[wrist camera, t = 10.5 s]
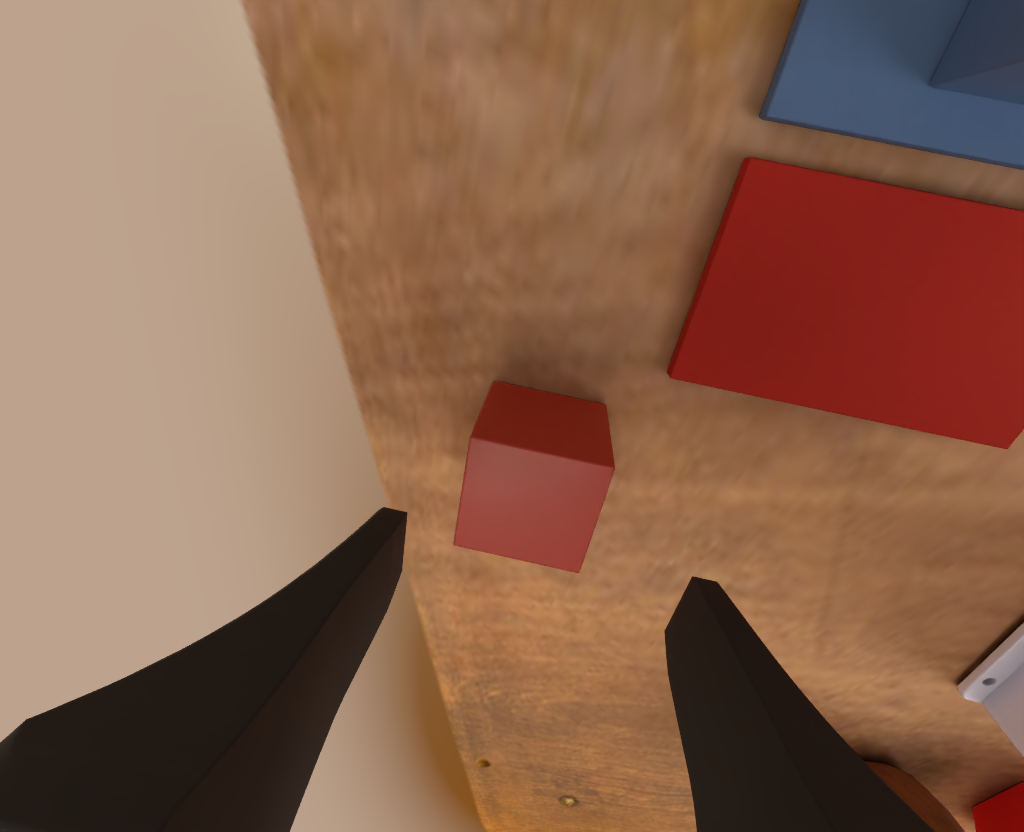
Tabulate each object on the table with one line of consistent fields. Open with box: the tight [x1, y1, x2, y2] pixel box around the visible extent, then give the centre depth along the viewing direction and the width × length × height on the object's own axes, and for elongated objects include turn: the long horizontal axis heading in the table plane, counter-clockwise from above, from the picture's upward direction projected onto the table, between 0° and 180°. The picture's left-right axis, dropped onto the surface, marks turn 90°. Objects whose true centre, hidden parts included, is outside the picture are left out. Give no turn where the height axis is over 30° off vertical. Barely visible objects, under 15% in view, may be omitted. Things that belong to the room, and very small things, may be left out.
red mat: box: [667, 158, 1024, 449], centre depth 15 cm, size 7×12×1 cm, turn 80°
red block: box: [454, 381, 615, 573], centre depth 17 cm, size 4×4×4 cm
